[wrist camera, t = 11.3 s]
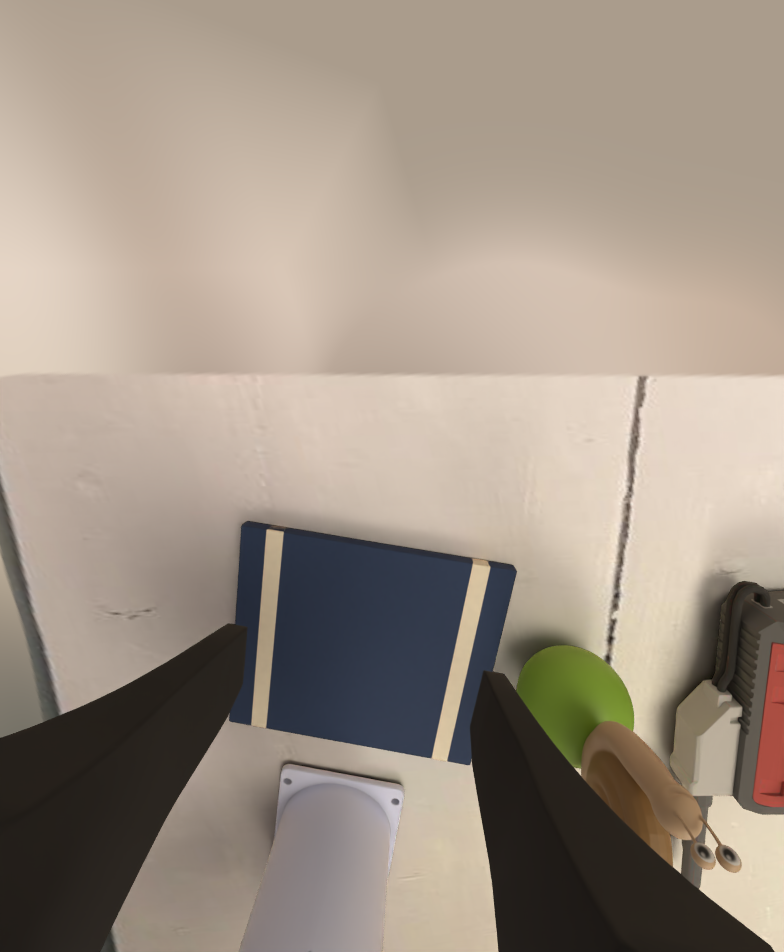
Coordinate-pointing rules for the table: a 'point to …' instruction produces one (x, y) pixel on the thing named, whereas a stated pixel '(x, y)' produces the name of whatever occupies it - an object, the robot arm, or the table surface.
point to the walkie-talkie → (736, 715)
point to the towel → (366, 639)
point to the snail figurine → (613, 750)
